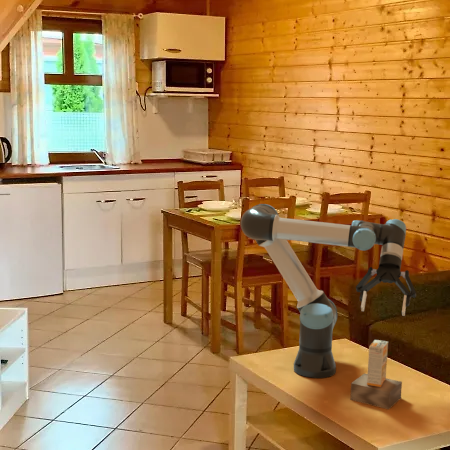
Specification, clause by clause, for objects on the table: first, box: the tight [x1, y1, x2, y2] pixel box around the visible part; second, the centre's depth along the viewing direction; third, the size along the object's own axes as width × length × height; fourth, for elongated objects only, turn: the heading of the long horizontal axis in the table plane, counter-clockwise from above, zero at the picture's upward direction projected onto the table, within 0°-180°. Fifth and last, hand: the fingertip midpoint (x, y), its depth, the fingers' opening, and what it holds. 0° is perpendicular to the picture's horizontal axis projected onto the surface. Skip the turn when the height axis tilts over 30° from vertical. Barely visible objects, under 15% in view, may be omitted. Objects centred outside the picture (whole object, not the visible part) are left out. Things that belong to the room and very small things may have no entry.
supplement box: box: [367, 339, 389, 387], centre depth 230 cm, size 8×5×13 cm, turn 157°
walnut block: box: [350, 373, 403, 410], centre depth 232 cm, size 13×11×6 cm
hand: (382, 311), depth 240 cm, fingers open, 13 cm apart
